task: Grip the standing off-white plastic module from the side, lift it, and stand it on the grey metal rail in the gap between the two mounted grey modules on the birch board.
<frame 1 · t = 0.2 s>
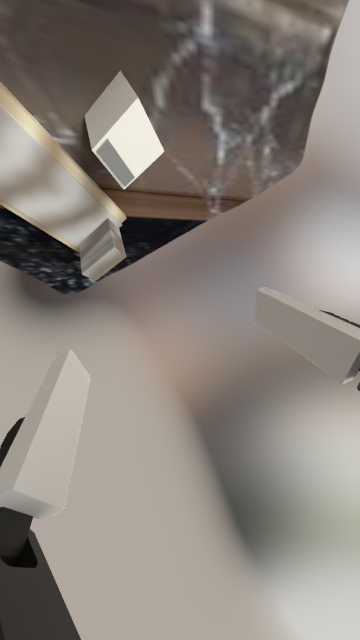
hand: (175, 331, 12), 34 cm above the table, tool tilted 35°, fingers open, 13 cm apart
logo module: (115, 117, 25), on the table
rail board: (26, 173, 27), on the table
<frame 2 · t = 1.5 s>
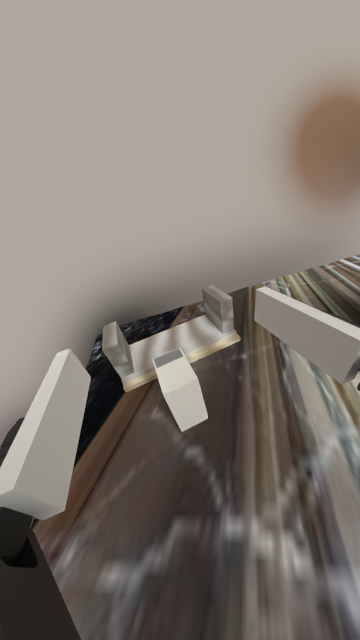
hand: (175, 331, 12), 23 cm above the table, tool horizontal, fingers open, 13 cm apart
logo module: (187, 406, 31), on the table
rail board: (176, 346, 45), on the table
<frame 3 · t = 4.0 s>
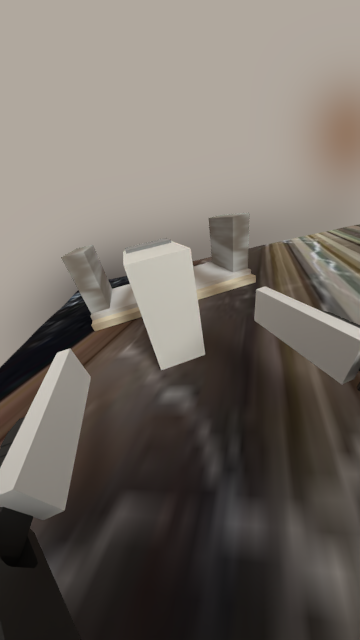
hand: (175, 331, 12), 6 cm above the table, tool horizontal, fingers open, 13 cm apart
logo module: (175, 342, 21), on the table
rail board: (171, 291, 35), on the table
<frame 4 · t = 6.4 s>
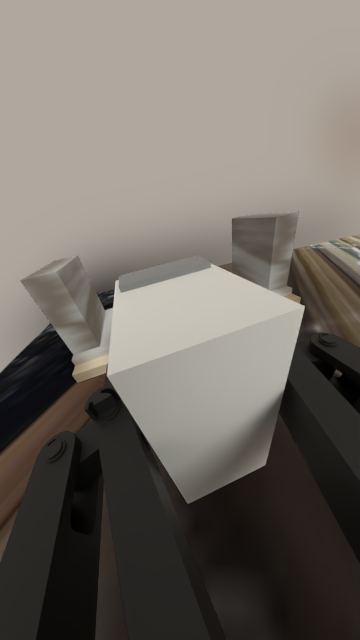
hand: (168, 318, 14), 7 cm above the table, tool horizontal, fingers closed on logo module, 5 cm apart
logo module: (203, 424, 13), on the table, touching gripper
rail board: (182, 314, 27), on the table
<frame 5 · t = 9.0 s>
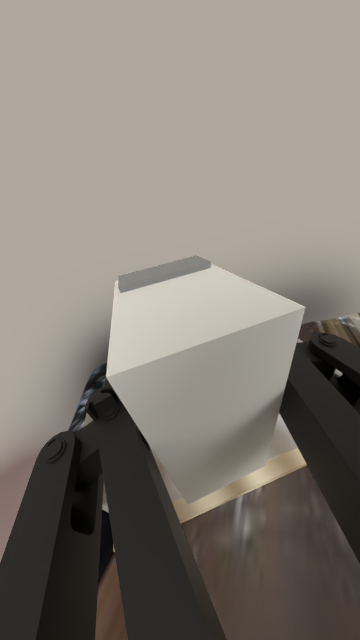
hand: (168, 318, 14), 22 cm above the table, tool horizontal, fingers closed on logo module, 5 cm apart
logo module: (203, 424, 13), point 15 cm above the table, touching gripper
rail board: (215, 432, 26), on the table
when the fingers open (10 cm above the table, at t = 11.9 s): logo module drops 1 cm, resting on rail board.
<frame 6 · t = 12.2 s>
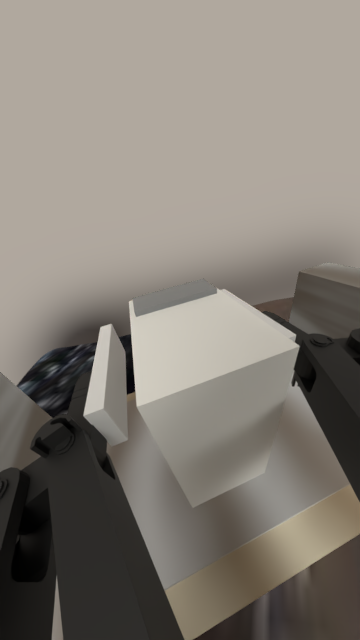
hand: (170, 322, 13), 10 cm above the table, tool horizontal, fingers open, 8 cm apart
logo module: (206, 432, 14), point 2 cm above the table, touching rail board
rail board: (208, 444, 15), on the table
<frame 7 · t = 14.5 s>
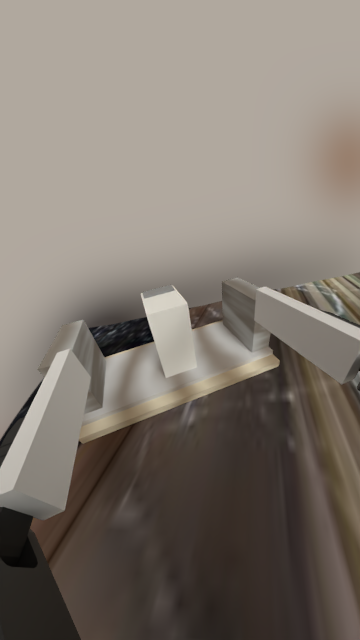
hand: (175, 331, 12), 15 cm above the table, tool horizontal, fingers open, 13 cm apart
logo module: (175, 357, 28), point 2 cm above the table, touching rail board
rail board: (176, 365, 29), on the table
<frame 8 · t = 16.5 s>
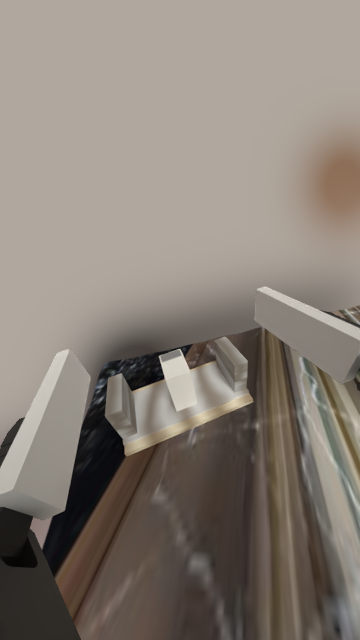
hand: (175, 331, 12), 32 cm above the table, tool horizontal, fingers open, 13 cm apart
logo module: (182, 394, 41), point 2 cm above the table, touching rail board
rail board: (183, 399, 42), on the table
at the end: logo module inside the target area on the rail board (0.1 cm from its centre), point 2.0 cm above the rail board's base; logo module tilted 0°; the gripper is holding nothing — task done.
